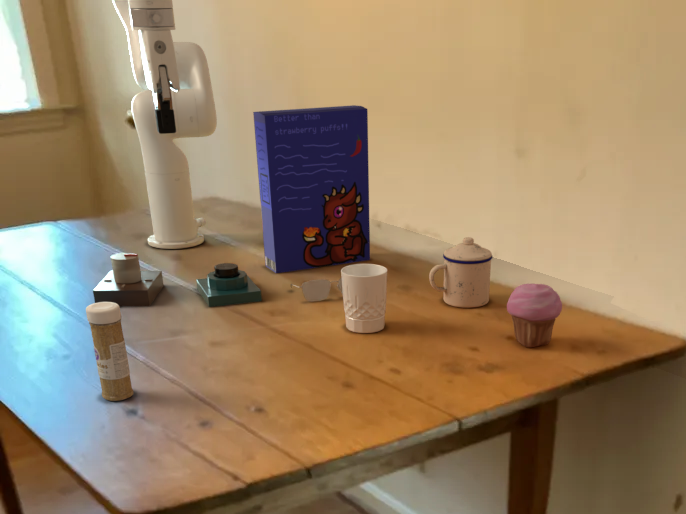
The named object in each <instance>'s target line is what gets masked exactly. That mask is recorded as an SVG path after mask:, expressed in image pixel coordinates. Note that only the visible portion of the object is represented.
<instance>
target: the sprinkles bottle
mask: <svg viewBox="0 0 686 514" xmlns="http://www.w3.org/2000/svg"><path fill="white" fill-rule="evenodd" d="M120 307H121V306H119V305H118V304H116V303H113V302H98V303H95V302H93V303H91V304H89V305H87V306H86V308H85V315H86V320H87V321H88V324H89V326H90V332H91V338H92V343H93V350H94V351H93V352H94V356H95V361H96V368H97V373H98V377H99V382H100V388H101V396H102V398H103V399H104V400H106V401H111V402H117V401H118V402H120V401H124V400H126V399H129V398H131V397H132V396H134V389H133V386H132V381H131V375H130V374H131V370H130V365H129V364H130V363H129V357H128V353H127V345H126V340H125V337H124V332H123V326H122V312H121V308H120Z"/></svg>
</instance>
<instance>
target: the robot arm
mask: <svg viewBox="0 0 686 514" xmlns="http://www.w3.org/2000/svg"><path fill="white" fill-rule="evenodd" d="M111 1H112V4H113V6H114V8H115V10H116V13H117V14H118V16H119V18H120V20H121V22H122V24H123V26H124V28H125V31H126V35H127V42H128V50H129V55H130V62H131V68H132V73H133V77H134V80H135V82H136V84H137V86H138V87H139V89H141V91H140V92H138V93H136V94H135V95H134V96H133V98H132V100H131V107H130V108H131V114H132V119H133V122H134V126H135V129H136V133H137V136H138V140H139V146H140V150H141V155H142V162H143V170H144V176H145V182H146V183H145V184H146V190H147V196H148V203H149V204H148V205H149V212H150V217H151V224H152V231H153V234H151V235H149V236H148V237H147V245H149V246H150V247H152V248H157V249H162V250H163V249H165V250H178V249H187V248H193V247H197V246H199V245H201V244H203V243H204V241H205V237H204V234H202V233H201V232H199V228H202V227H205V226H206V224H207V220H206V219H205V218H204V217H203V216H201V217H199V218H197V217H196V216H195V210H194V209H195V208H194V201H193V191H192V185H191V184H192V183H191V175H190V168H189V161H188V158H187V155H186V154H185V153H184V152H183V150H182V149H181V148H180V147H179V146H178V145H177V144H176V143H175V142H174V140H175V139H184V138H185V139H187V138H189V139H190V138H204V137H205V138H206V137H209V136H212V135H213V134H214V133H215V132H216V129H217V123H218V121H217V120H218V119H217V118H218V117H217V109H216V104H215V98H214V92H213V86H212V80H211V74H210V69H209V64H208V60H207V56H206V53H205V51H204V50H203V48H202V46H200V45H199V44H198V43H195V42H191V41H174V40H173V35H172V31H175V30H176V22H175V12H174V5H173V0H111Z"/></svg>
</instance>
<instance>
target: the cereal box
mask: <svg viewBox="0 0 686 514" xmlns="http://www.w3.org/2000/svg"><path fill="white" fill-rule="evenodd" d="M252 114H253V124H254V125H253V126H254V138H255V139H254V140H255V152H256V164H257V177H258V190H259V201H260V213H261V214H260V215H261V227H262V240H263V252H264V266H265V267H266V268H267V269H269V270H270V271H272V272H273V273H274V274H282V273H289V272H296V271H302V270H309V269H317V268H325V267H332V266H338V265H344V264H345V265H346V264H352V263H359V262H367V261H370V260H371V238H370V237H371V232H370V230H371V229H370V227H371V225H370V186H369V185H370V178H369V175H370V173H369V172H370V171H369V124H368V123H369V119H368V116H369V115H368V114H369V113H368V108H367V107H365V106H362V105H356V104H355V105H354V104H352V105H338V106H324V107H323V106H322V107H321V106H320V107H308V108H306V107H305V108H292V109H291V108H290V109H277V110H276V109H275V110H262V111H261V110H260V111H252Z"/></svg>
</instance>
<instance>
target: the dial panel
mask: <svg viewBox="0 0 686 514" xmlns="http://www.w3.org/2000/svg"><path fill="white" fill-rule="evenodd" d="M140 271H141V277H142V280H141V281H139V282H136V283H130V284H120V283H116V282H115V280H114V274H113V270H110V271H109V272H108V273H107V274H106V275H105V276H104V278H102V280H100V282H99V283H98V284H97V286H96V287H95V288H94V289H92V294H93V299H94V303H98V302H113V303H116V304H118V305H119V307H151V305H152V304H153V302H154V301H155V300H156V298H157V297H158V295H159V293H160V292H161V291H162V289H163V287H164V286H165V285H164V279H163V271H162V270H140Z"/></svg>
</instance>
